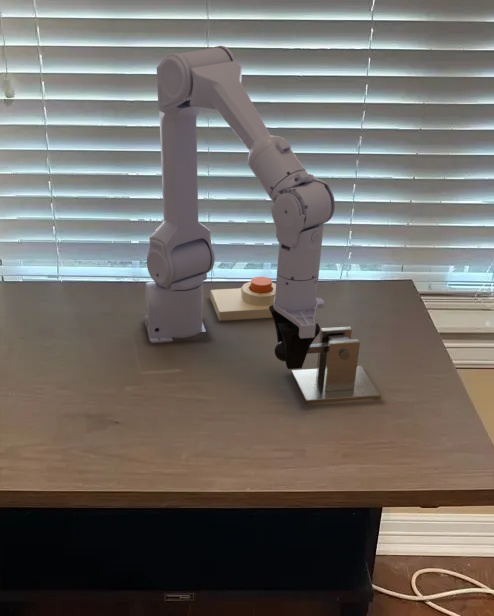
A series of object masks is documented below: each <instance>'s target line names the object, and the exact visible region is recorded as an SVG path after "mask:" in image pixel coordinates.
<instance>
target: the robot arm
mask: <svg viewBox="0 0 494 616" xmlns="http://www.w3.org/2000/svg"><path fill="white" fill-rule="evenodd" d="M242 74H243V73H242V66H241V65H240V63H239V62H238V61H237V60H236V58H235V55H234V53H233V52H232V51H231V50H230V48H228V47H227V46H225V45H217V46H214V47H210V48H205V49H199V50H192V51H187V52H181V53H177V52H175V53H169V54H167V55H166V56H165V57H164V58H163V59H162V61H161V62H160V63H159V64H158V65H157V67H156V87H157V110H158V111H159V112H158V113H159V114H158V115H159V133H160V134H159V135H160V158H161V159H160V162H161V185H162V186H161V187H162V190H161V191H162V211H163V212H162V213H163V221H162V223H161V224H160V225H159V226H158V227H157V228H156V229H155V231H154V232H153V233H152V234H151V235H150V236H149V248H148V253H147V256H146V267H147V271H148V274H149V276H150V278H151V279H152V281H147V282H145V284H144V307H145V308H144V311H145V312H144V313H145V315H144V325H145V328H146V331H147V335H148V339H149V342H150V343H151V344H159V343H173V342H174V340H173V338H176V339H177V338H178V339H179V338H180V339H181V338H183V339H185V338H191V337H194V336H197V335H199V334H200V333H205V332H207V330H206V328H205V324H204V322H203V313H204V312H203V311H204V310H203V306H204V305H203V303H204V281H206V280H207V279H208V274H209V273H210V272H211V271H212V270H213V268H214V266H215V260H216V259H215V257H216V256H215V250H214V247H213V244H212V239H211V230H210V229H209V228H208V227H207V226H206V225H204V224H203V223H201V222H200V221H199V190H198V189H199V187H198V186H199V184H198V183H199V182H198V138H197V137H198V133H197V132H198V131H197V118H198V115H199V114H200V113H201V112H202V111H203V110H204V109H210V110H215V111H217V113H218V114H219V115H220V117H222V119H223V120H224V122H226V123H227V125H228V126H229V127H230V128H231V130H232V131H233V132H234V134H235V135H236V136H237V137H238V139H239V140H240V142H241V143H242V144H243V145H244V146H245V148H246V149H247V150H248V155H247V165H248V167H249V168H250V170H251V172H252V173H253V175H254V176H255V178H256V179H257V181H258V182H259V184H260V185H261V186H262V188H263V190H264V191H265V193H266V194H267V196H268V197H269V198H270V200H271V201H272V203H273V204H271V206H270V209H271V216H272V220H273V222H274V224H275V230H276V232H275V234H276V235H275V238H277V242H278V251H277V252H278V253H277V264H276V265H277V266H276V267H277V268H276V278H275V279H276V281H275V284H276V293H275V297H274V302H273V305H271V306H270V307H269V310H270V312H271V314H272V317H273V318H272V319H273V322H274V326H275V332H276V339H277V344H278V343H279V342H281V341H284V348H285V361H284V362H285V365H286V368H287V370H301V369H302V368H303V366H304V363H305V360H306V358H307V355H308V354H307V352H308V350H309V347H310V345H311V344H313V342H314V340H315V339H316V338H317V337H318V336H319V335H320V332H321V327H320V325H319V324H318V322H315V321H316V315H317V310H318V309H323V308H324V307H325V301H324V299H323V298H321V297H317V295H318V287H319V276H320V268H321V267H320V266H321V257H322V256H321V255H322V245H323V237H324V224H327V223H328V222H329V221H331V219H332V218H333V216H334V213H335V208H336V203H335V202H336V200H335V197H334V193H333V191H332V190H331V187H330V185H329V183H327V181H325V180H323V179H321V178H317V177H315V175H314V174H311V173H308V172H307V170H306V168H305V167H304V166H303V164H302V163H301V161H300V160H299V158H298V157H297V155H296V154H295V152H294V151H293V150H292V148H291V146H292V145H291V144H290V143H289V141H287V140H286V139H285V138H284V137H282V136H279V135H272V134H270V131H269V130H268V128H267V126H266V124H265V123H264V121H263V119H262V117H261V115H260V113H259V112H258V110H257V109H256V107H255V104H254V103H253V101H252V100H251V98H250V96H249V95H248V92H247V91H246V89H245V87H244V85H243V84H242V76H243V75H242Z"/></svg>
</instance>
